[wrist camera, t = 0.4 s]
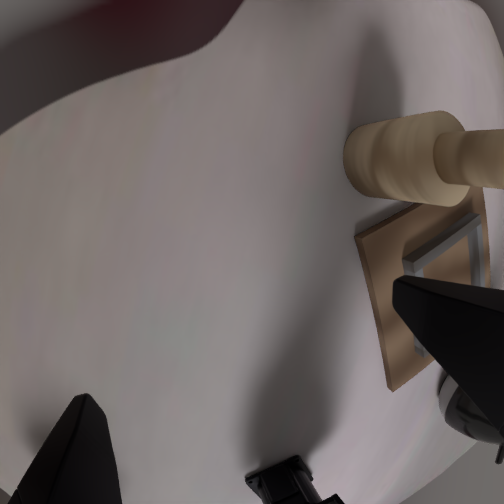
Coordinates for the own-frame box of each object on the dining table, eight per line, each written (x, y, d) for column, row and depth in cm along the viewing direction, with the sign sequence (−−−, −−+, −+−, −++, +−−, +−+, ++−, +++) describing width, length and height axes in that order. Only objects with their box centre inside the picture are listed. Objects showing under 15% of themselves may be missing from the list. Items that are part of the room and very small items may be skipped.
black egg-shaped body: (415, 412, 33) (490, 477, 18) (455, 343, 32) (545, 395, 18) (448, 412, 36) (513, 462, 22) (482, 352, 35) (555, 394, 21)
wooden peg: (407, 183, 25) (531, 195, 13) (356, 208, 24) (491, 234, 12) (387, 117, 23) (513, 98, 11) (332, 135, 22) (469, 110, 10)
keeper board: (484, 305, 32) (498, 310, 30) (387, 387, 29) (401, 399, 27) (472, 170, 27) (490, 171, 25) (354, 236, 24) (372, 242, 22)
